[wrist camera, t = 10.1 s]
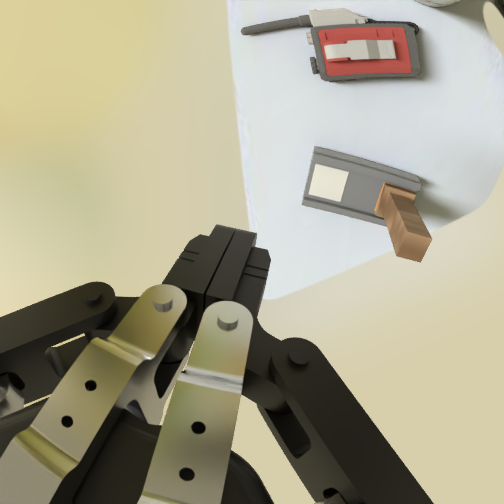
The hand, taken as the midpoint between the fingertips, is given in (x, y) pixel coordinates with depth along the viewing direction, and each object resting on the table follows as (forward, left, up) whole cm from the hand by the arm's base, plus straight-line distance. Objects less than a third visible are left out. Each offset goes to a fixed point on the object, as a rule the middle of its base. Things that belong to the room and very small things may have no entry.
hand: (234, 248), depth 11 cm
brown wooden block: (+6, +14, -25) cm, 29 cm away
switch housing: (+6, +10, -27) cm, 29 cm away
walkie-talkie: (-10, +3, -28) cm, 30 cm away
